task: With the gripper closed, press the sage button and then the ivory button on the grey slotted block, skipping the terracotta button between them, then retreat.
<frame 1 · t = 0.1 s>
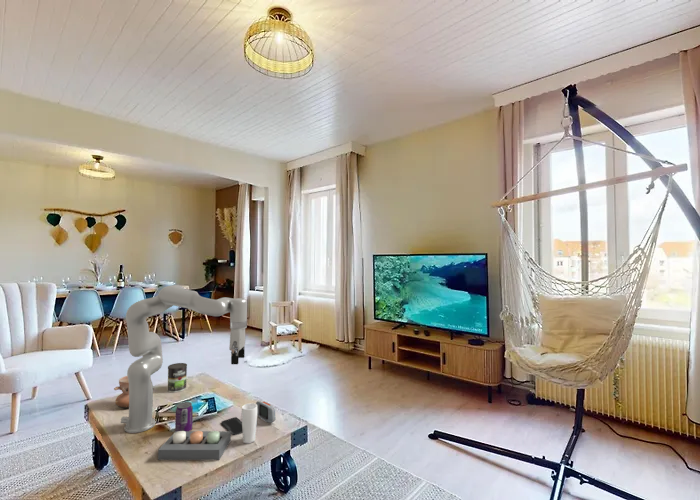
hand: (237, 360, 162), 31 cm above the table, fingers open, 9 cm apart
grey slotted block: (196, 449, 142), on the table
beverage can: (183, 431, 157), on the table
coffee can: (177, 389, 204), on the table
button sage: (213, 438, 142), point 5 cm above the table, slide at 0.0 cm
ceramic jug: (132, 404, 184), on the table
phone: (234, 427, 161), on the table
button ivory: (179, 438, 142), point 5 cm above the table, slide at 0.0 cm
drinking glass: (249, 441, 150), on the table
handheld gaming console: (265, 420, 169), on the table
button terracotta: (196, 438, 142), point 5 cm above the table, slide at 0.0 cm
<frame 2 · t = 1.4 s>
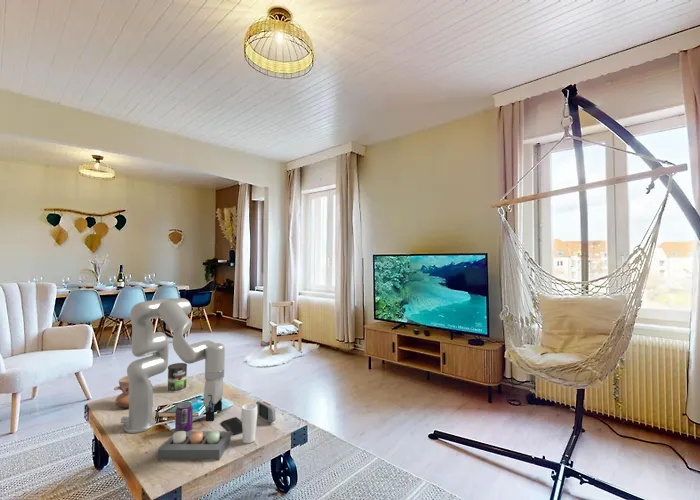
hand: (214, 415, 143), 14 cm above the table, fingers open, 8 cm apart
nothing on the table moved.
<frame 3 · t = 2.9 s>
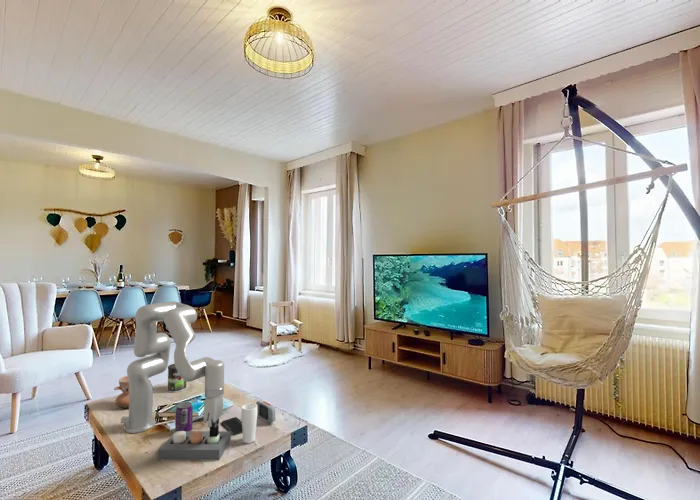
hand: (214, 435, 142), 6 cm above the table, fingers closed
button sage: (213, 439, 142), point 4 cm above the table, slide at 0.7 cm, touching gripper
everything else where it was.
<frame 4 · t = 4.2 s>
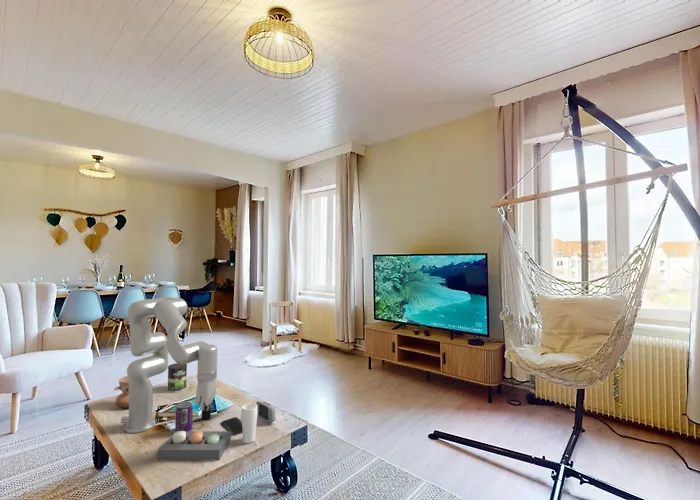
hand: (206, 419, 142), 13 cm above the table, fingers closed
button sage: (213, 441, 142), point 3 cm above the table, slide at 1.4 cm
everything else where it was.
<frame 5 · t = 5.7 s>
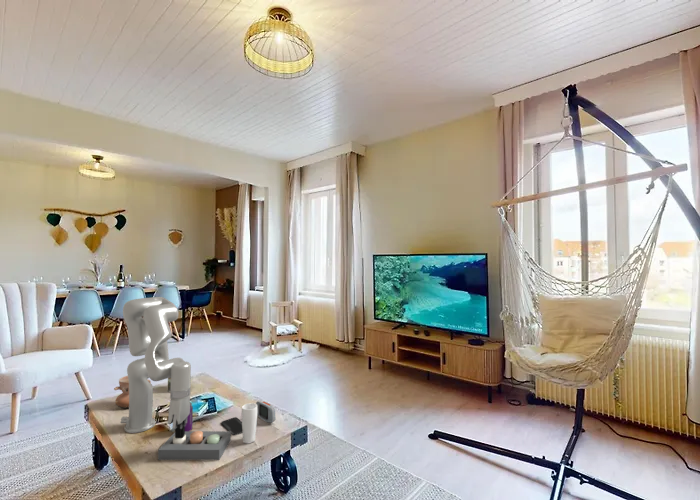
hand: (179, 437, 142), 5 cm above the table, fingers closed
button ivory: (179, 441, 142), point 3 cm above the table, slide at 1.3 cm, touching gripper
everything else where it was.
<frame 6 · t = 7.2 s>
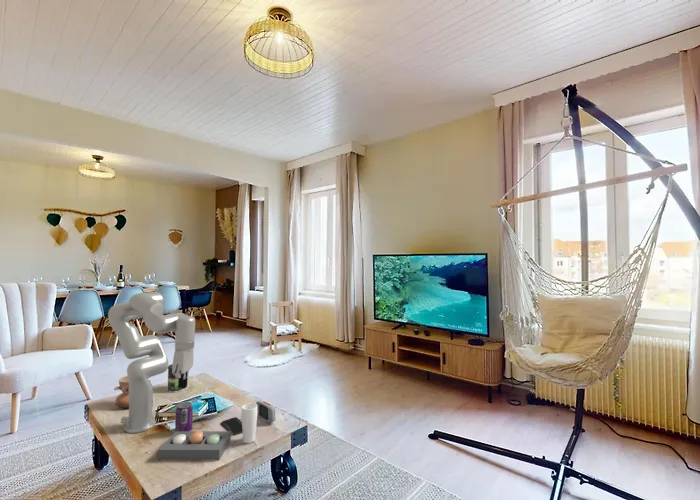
hand: (182, 387, 147), 24 cm above the table, fingers closed
button ivory: (179, 441, 142), point 3 cm above the table, slide at 1.4 cm
everything else where it was.
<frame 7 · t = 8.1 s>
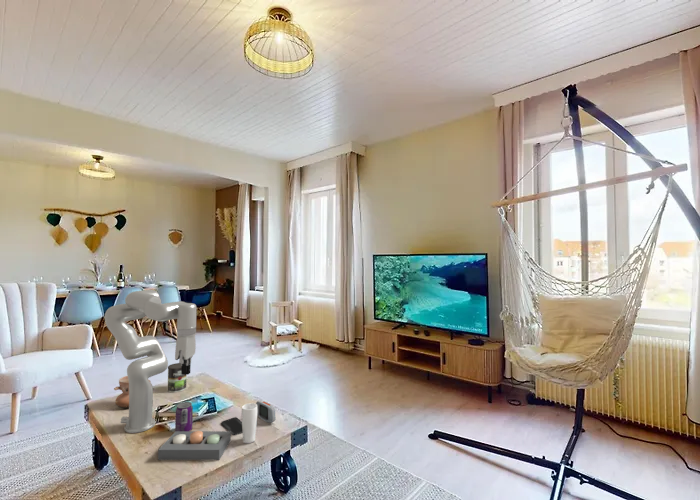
hand: (185, 373, 149), 29 cm above the table, fingers closed
nothing on the table moved.
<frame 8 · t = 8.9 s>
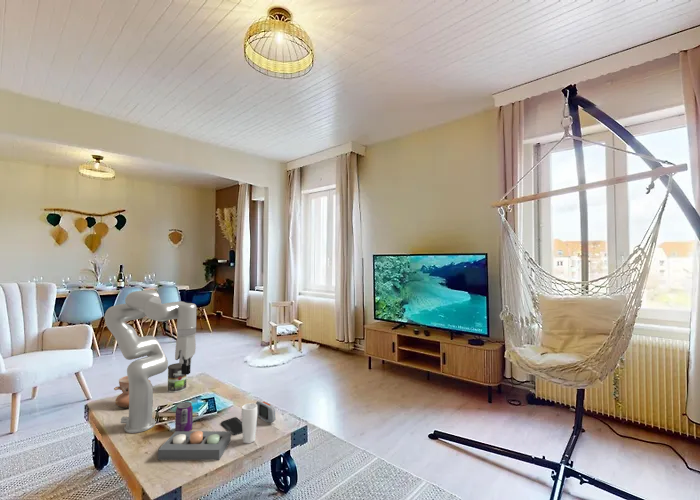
hand: (185, 373, 149), 29 cm above the table, fingers closed
nothing on the table moved.
at the end: button sage slide at 1.4 cm; button ivory slide at 1.4 cm; button terracotta slide at 0.0 cm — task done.
